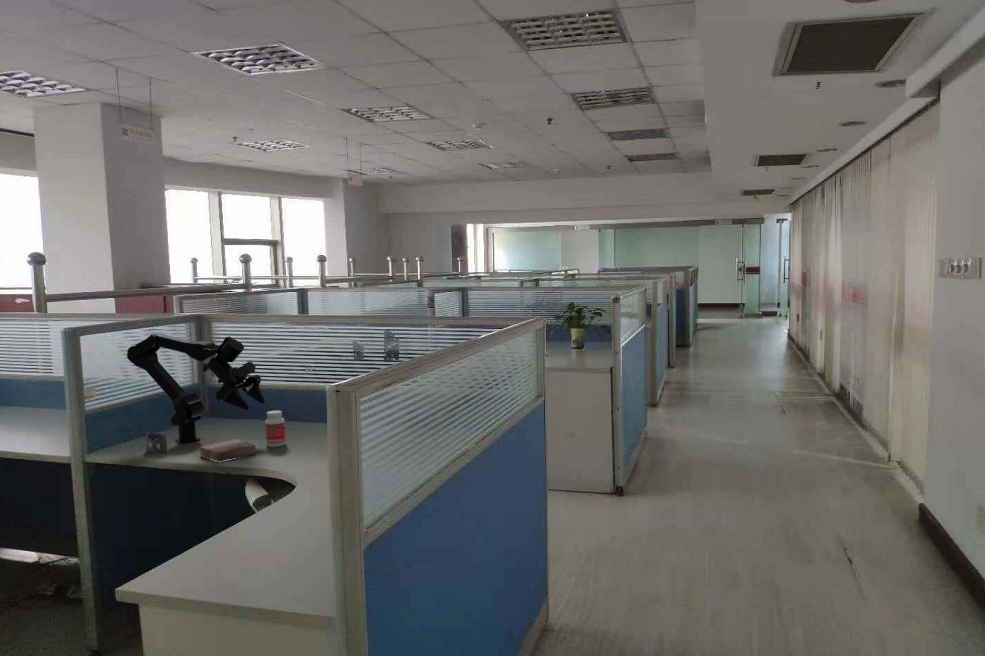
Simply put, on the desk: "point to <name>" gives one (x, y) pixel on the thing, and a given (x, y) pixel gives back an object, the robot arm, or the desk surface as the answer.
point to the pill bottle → (275, 429)
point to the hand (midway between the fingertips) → (256, 405)
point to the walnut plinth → (228, 450)
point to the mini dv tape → (156, 442)
